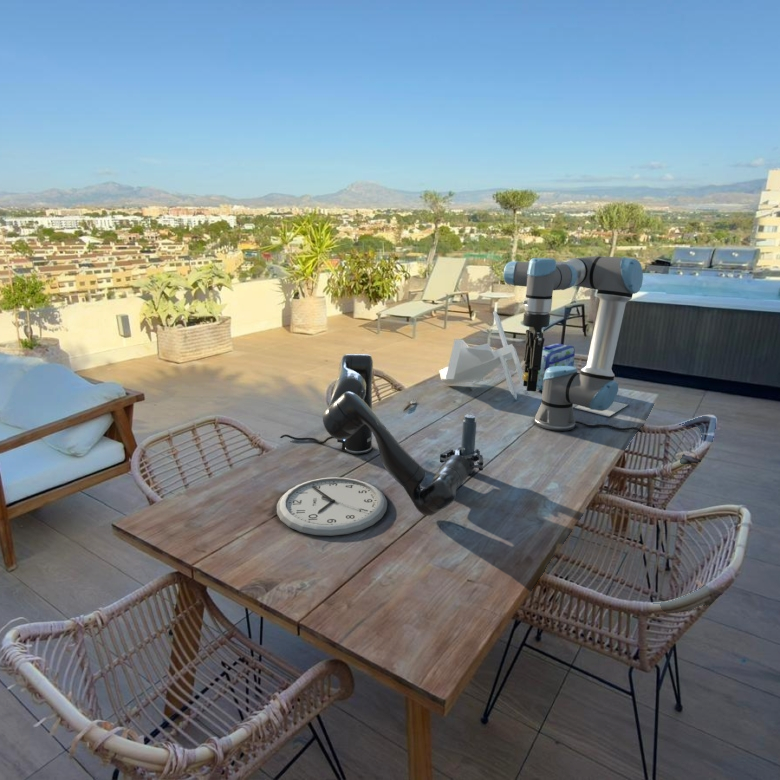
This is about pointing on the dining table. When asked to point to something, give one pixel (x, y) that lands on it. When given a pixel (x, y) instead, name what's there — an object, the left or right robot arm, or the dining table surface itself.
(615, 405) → the invitation card
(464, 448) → the gray cylinder
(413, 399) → the fork
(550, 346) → the lunch box
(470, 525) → the dining table surface
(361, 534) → the dining table surface
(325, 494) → the wall clock
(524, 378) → the lid
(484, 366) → the white plastic object
